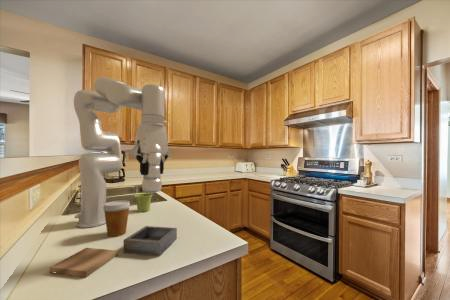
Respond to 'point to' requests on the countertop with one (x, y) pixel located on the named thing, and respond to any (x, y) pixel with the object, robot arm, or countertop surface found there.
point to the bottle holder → (150, 247)
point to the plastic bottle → (153, 171)
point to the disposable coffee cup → (116, 217)
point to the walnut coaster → (84, 262)
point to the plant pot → (143, 201)
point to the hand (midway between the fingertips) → (152, 173)
